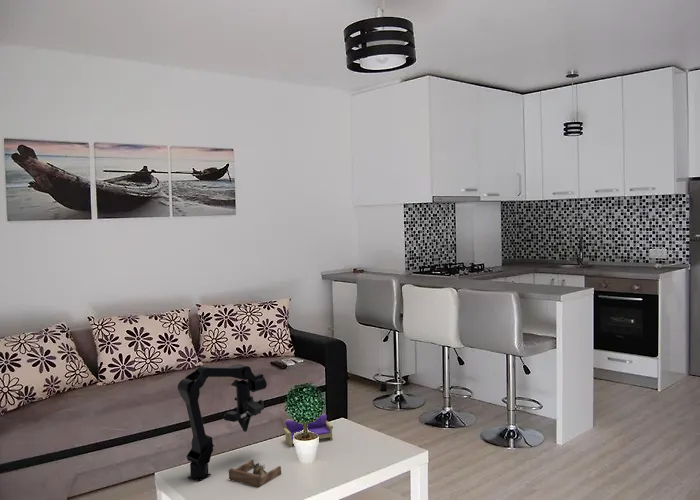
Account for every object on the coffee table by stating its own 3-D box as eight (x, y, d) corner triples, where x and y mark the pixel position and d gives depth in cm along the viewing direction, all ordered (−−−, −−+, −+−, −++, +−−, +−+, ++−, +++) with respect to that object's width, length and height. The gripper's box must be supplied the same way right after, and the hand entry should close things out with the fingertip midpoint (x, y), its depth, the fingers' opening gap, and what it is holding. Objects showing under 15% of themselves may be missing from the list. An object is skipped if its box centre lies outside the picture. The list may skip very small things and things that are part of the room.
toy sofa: (288, 448, 270) (287, 425, 269) (283, 441, 278) (282, 419, 277) (333, 440, 277) (333, 418, 276) (328, 434, 285) (327, 412, 284)
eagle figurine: (243, 474, 241) (249, 478, 233) (251, 456, 243) (257, 460, 235) (260, 481, 243) (266, 485, 235) (268, 464, 245) (274, 467, 237)
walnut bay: (258, 487, 231) (258, 477, 230) (229, 479, 239) (228, 469, 238) (281, 474, 242) (280, 464, 242) (252, 467, 250) (251, 457, 250)
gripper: (242, 403, 245) (244, 441, 245) (272, 391, 260) (274, 427, 261) (222, 399, 251) (224, 437, 251) (252, 388, 266) (254, 423, 267)
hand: (245, 431), depth 258 cm, fingers closed
